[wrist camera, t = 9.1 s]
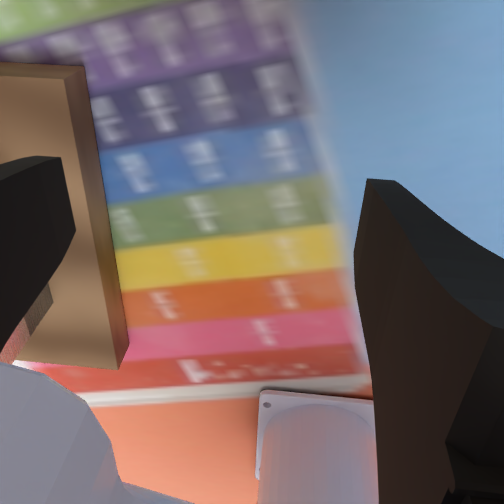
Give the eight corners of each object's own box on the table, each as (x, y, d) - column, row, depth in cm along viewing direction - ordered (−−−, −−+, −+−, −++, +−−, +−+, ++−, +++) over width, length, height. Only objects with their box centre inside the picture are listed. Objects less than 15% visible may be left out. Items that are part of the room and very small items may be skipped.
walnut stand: (129, 344, 29) (118, 370, 27) (-31, 329, 30) (-51, 353, 28) (83, 66, 20) (63, 79, 18) (-145, 53, 20) (-185, 64, 19)
